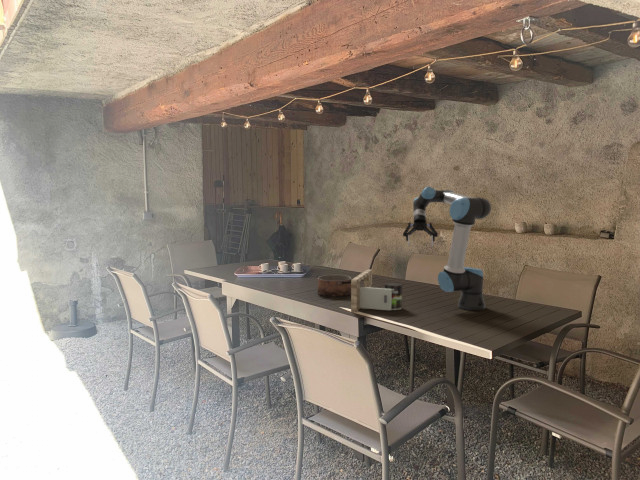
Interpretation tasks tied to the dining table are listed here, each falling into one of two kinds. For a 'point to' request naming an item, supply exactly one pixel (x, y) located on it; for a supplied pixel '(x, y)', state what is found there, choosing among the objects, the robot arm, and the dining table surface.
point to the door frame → (356, 288)
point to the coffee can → (395, 294)
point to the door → (375, 298)
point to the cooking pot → (334, 285)
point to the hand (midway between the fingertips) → (420, 245)
